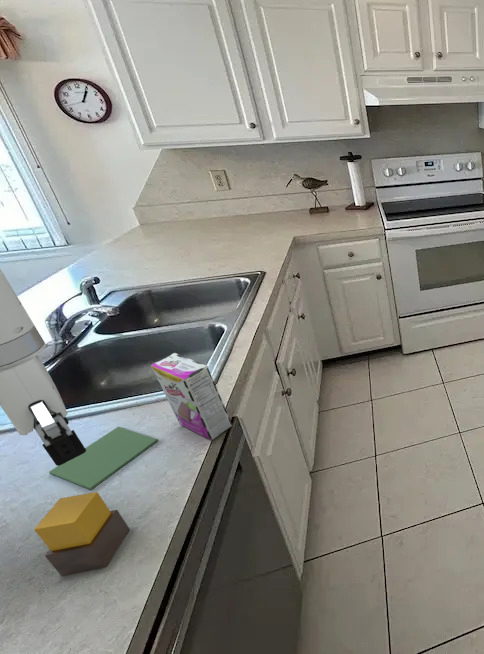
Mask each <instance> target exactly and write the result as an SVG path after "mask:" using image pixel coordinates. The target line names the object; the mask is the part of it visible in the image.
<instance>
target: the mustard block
mask: <svg viewBox="0 0 484 654" xmlns="http://www.w3.org/2000/svg"><path fill="white" fill-rule="evenodd" d="M110 511H111V509H109V507H108V506H107V504H106V502H105V501H104V500H103V498H102V497H101V495H100V494H99V492H98V491H95V492H90V493H84V494H83V493H82V494H78V495H72V496H71V495H70V496H66V497H62V498H61V497H60V498H58V500H57V501H56V502H55V504H54V505H53V506H52V507H51V509H50V510H49V511H48V512H47V513H46V515H44V517H43V518H42V519H41V520H40V522H39V523H37V525H36V527H34V529H33V530H34V532H35V533H36V534H37V535H38V536H39V538H40V539H41V540H42V542H43V543H44V544H45V546H46V547H47V548H48V550H49V549H50V550H51V551H55V550H60V549H65V548H70V547H75V546H81V545H86V544H90V543H91V542H92V540H93V539H94V537H95V536H96V534H97V533H98V532H99V530H100V529H101V527H102V526H103V524H104V523H105V521H106V520H107V519H108V517H109V516H110V514H111V512H110Z"/></svg>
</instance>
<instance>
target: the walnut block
mask: <svg viewBox="0 0 484 654" xmlns="http://www.w3.org/2000/svg"><path fill="white" fill-rule="evenodd" d="M110 512H111V514H110V516H109V517H108V519H107V520H106V521H105V523H104V524H103V526H102V527H101V529H100V530H99V532H98V533H97V534H96V536H95V537H94V539H93V540H92V542H91V543H90V544H86V545H81V546H75V547H70V548H65V549H60V550H55V551H51V550H50V549H49V548H48V551H46V553H45V555H44V557H45V558H46V559H47V561H48V562H49V563H50V564H51V565H52V566H53V568H54V569H55V570H56V571H57V573H58V574H59V575H60V576H61V577H63V576H67V575H72V574H77V573H82V572H87V571H92V570H97V569H101V568H107V567H108V565H109V563H110V562H111V561H112V559H113V557H114V556H115V554H116V552H117V551H118V549H119V548H120V546H121V545H122V544H123V541H124V540H125V538H126V536H127V535H128V533H129V531H130V530H131V529H130V527H129V525H128V524H127V522H126V521H125V519H124V517H123V516H122V515H121V513H120V512H119V510H118V509H113V510H110Z"/></svg>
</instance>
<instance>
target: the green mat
mask: <svg viewBox="0 0 484 654" xmlns="http://www.w3.org/2000/svg"><path fill="white" fill-rule="evenodd" d="M158 442H159V440H158V439H157V438H155V437H152V436H149V435H146V434H143V433H139V432H137V431H134V430H130V429H128V428H124V427H121V426H117V427H115V428H113V429H112V430H111V431H109V432H108V433H106V434H105V435H103V436H102V437H100V438H98V439H97V440H96V441H94V442H93V443H90V444H89V445H88V446H86V447H85V449H86V452H85V453H83V454H81V455H80V456H78V457H76V458H74V459H72V460H70V461H68V462H66V463H64V464H62V465H59V466H57V465H56V467H54V468H52V469H51V470H49V471H48V473H49V474H50V475H52V476H55V477H57V478H60V479H63V480H65V481H67V482H70V483H73V484H75V485H77V486H80V487H82V488H85V489H87V490H89V491H92V490H93V489H94V488H96V487H97V486H99V485H100V484H102V483H103V482H104V481H105V480H108V478H110V477H111V476H112V475H114V474H116V473H117V472H118V471H119V470H121V469H122V468H123V467H124V466H127V464H128V463H131V461H133V460H134V459H135V458H137V457H138V456H140V455H141V454H142V453H144V452H145V451H146V450H148V449H149V448H151V447H152V446H153V445H155V444H156V443H158Z"/></svg>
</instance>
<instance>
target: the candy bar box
mask: <svg viewBox="0 0 484 654" xmlns="http://www.w3.org/2000/svg"><path fill="white" fill-rule="evenodd" d="M150 368H151V369H152V370H151V371H152V372H153V375H154V376H155V378H156V380H157V382H158V384H159V386H160V387H161V389H162V391H163V393H164V395H165V397H166V399H167V401H168V403H169V405H170V407H171V410H172V411H173V413H174V415H175V417H176V419H177V422H178V423H179V426H181V427H184V428H186V429H187V430H190V431H192V432H194V433H196V434H198V435H200V436H201V437H204V438H206V439H208V440H210V441H213V440H215V439H217V438H218V437H219V436H221V435H222V434H223V433H225V432H226V431H228V429H230V428H232V427H233V423H232V420H231V418H230V416H229V413H228V411H227V408H226V406H225V404H224V402H223V398H222V397H221V395H220V392H219V389H218V387H217V385H216V383H215V381H214V378H213V376H212V374H211V372H210V369H209V366H208V365H206V364H203V363H201V362H199V361H196V360H194V359H192V358H189V357H186V356H184V355H181V354H178V353H176V352H173V353H171V354H170V355H168V356H165V357H163V358H161V359H159V360H157V361H156V362H154V363H152V364H151V365H150Z"/></svg>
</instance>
